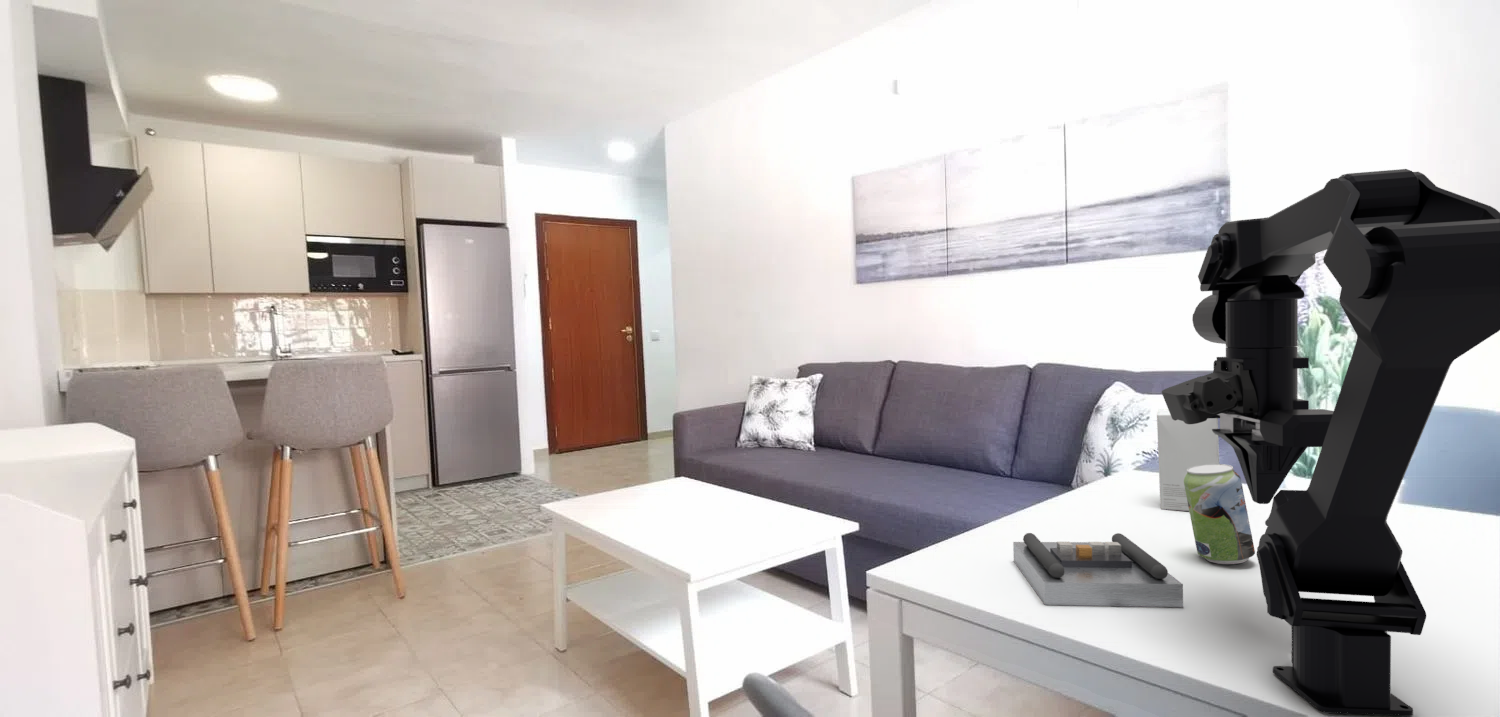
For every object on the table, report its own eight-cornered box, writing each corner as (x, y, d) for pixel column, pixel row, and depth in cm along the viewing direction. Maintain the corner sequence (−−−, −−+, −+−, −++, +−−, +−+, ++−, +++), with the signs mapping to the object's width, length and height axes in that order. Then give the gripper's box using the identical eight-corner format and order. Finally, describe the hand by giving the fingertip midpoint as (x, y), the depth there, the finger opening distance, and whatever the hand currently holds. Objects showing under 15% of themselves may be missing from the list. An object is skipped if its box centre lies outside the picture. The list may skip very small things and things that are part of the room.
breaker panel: (1183, 607, 73) (1182, 565, 73) (1045, 604, 75) (1044, 564, 75) (1128, 562, 87) (1128, 526, 87) (1013, 560, 89) (1012, 526, 89)
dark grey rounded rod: (1170, 581, 74) (1170, 567, 74) (1154, 581, 74) (1154, 566, 74) (1123, 544, 86) (1123, 531, 86) (1109, 544, 86) (1109, 531, 86)
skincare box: (1219, 505, 111) (1218, 409, 110) (1221, 515, 105) (1220, 414, 104) (1158, 500, 115) (1157, 407, 114) (1157, 509, 109) (1156, 412, 109)
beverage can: (1265, 570, 83) (1264, 471, 82) (1197, 568, 84) (1196, 470, 83) (1239, 552, 89) (1238, 460, 88) (1176, 551, 90) (1175, 460, 90)
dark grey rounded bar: (1066, 580, 75) (1066, 565, 75) (1051, 580, 75) (1051, 565, 75) (1035, 543, 88) (1034, 531, 88) (1021, 543, 88) (1021, 531, 88)
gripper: (1134, 346, 78) (1136, 482, 79) (1224, 354, 60) (1224, 530, 61) (1240, 343, 77) (1241, 481, 78) (1366, 349, 58) (1365, 531, 59)
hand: (1261, 502), depth 69 cm, fingers closed
